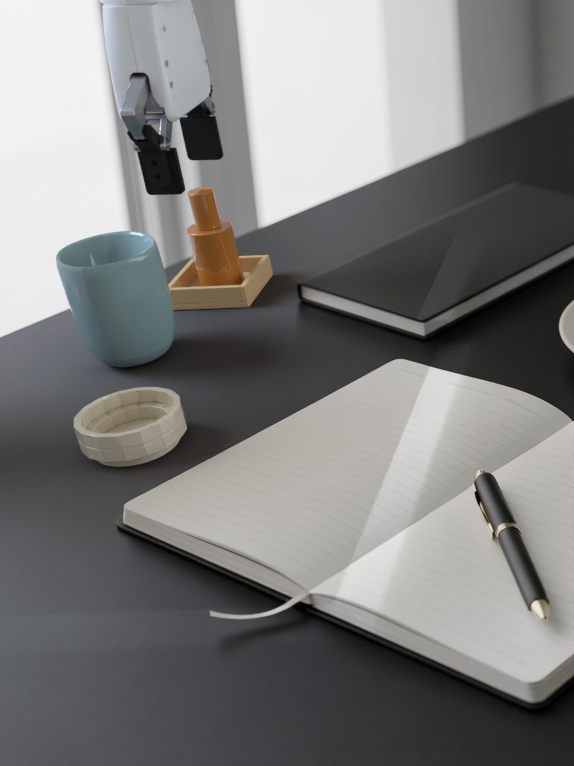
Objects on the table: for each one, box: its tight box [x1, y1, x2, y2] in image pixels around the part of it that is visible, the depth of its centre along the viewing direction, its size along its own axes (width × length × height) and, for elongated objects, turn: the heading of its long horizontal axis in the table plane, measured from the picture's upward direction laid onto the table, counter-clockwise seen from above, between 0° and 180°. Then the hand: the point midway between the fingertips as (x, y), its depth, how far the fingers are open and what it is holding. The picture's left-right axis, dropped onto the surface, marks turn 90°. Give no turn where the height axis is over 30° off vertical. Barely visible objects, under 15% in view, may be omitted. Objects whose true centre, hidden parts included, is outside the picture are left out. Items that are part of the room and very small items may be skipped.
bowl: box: [73, 386, 188, 468], centre depth 95 cm, size 7×7×3 cm
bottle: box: [185, 186, 245, 287], centre depth 118 cm, size 4×4×10 cm
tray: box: [168, 254, 274, 311], centre depth 120 cm, size 8×8×2 cm
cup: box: [55, 230, 176, 368], centre depth 107 cm, size 8×8×10 cm
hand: (187, 175), depth 115 cm, fingers open, 9 cm apart
